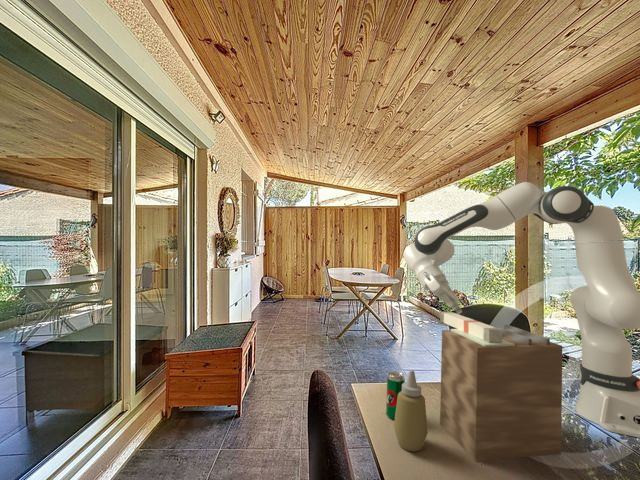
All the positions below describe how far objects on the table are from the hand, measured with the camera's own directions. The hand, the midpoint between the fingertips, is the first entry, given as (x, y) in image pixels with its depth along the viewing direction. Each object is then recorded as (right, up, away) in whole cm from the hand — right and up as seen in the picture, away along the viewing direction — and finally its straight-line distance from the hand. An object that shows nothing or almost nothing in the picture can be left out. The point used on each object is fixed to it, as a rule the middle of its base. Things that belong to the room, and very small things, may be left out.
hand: (456, 309), depth 104 cm
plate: (-5, -2, -24) cm, 25 cm away
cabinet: (0, -28, -24) cm, 37 cm away
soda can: (-25, -28, -16) cm, 40 cm away
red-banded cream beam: (-5, -1, -19) cm, 20 cm away
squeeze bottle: (-24, -27, -28) cm, 46 cm away
